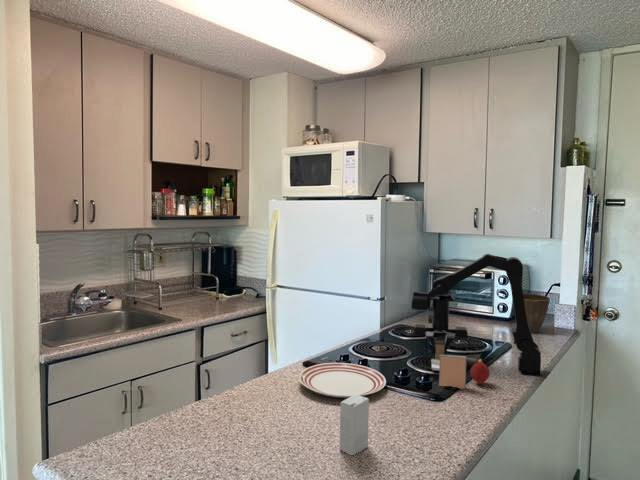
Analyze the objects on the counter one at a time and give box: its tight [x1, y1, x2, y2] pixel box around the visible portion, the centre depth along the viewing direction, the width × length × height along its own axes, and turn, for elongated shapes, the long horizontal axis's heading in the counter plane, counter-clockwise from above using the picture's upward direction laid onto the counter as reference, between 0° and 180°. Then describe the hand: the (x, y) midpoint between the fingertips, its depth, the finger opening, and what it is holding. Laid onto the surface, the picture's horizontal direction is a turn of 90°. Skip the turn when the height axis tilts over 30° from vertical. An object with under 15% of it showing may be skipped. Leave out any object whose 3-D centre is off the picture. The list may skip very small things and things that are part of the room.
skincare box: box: [339, 395, 370, 456], centre depth 112 cm, size 6×4×12 cm
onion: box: [470, 359, 490, 385], centre depth 154 cm, size 6×6×8 cm
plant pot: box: [523, 293, 551, 334], centre depth 218 cm, size 15×15×16 cm
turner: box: [430, 340, 445, 372], centre depth 170 cm, size 15×6×6 cm, turn 168°
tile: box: [438, 354, 468, 390], centre depth 151 cm, size 2×8×10 cm, turn 78°
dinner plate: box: [298, 362, 387, 399], centre depth 152 cm, size 28×27×3 cm
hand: (439, 354), depth 175 cm, fingers closed on turner, 3 cm apart
